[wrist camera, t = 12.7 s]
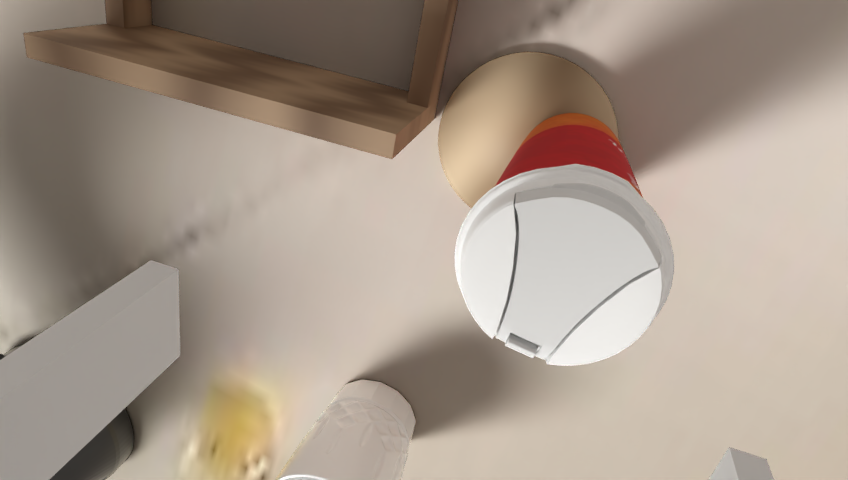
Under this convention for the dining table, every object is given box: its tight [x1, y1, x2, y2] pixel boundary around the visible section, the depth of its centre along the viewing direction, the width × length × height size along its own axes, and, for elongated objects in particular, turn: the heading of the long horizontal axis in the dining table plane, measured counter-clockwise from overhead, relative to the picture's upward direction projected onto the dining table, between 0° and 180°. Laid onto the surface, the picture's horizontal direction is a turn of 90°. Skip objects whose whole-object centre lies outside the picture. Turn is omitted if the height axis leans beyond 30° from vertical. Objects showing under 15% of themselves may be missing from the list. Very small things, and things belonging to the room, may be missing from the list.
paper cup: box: [454, 113, 674, 366], centre depth 25 cm, size 8×8×14 cm
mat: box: [438, 52, 618, 208], centre depth 32 cm, size 10×10×1 cm
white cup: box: [276, 379, 416, 480], centre depth 40 cm, size 8×8×10 cm
